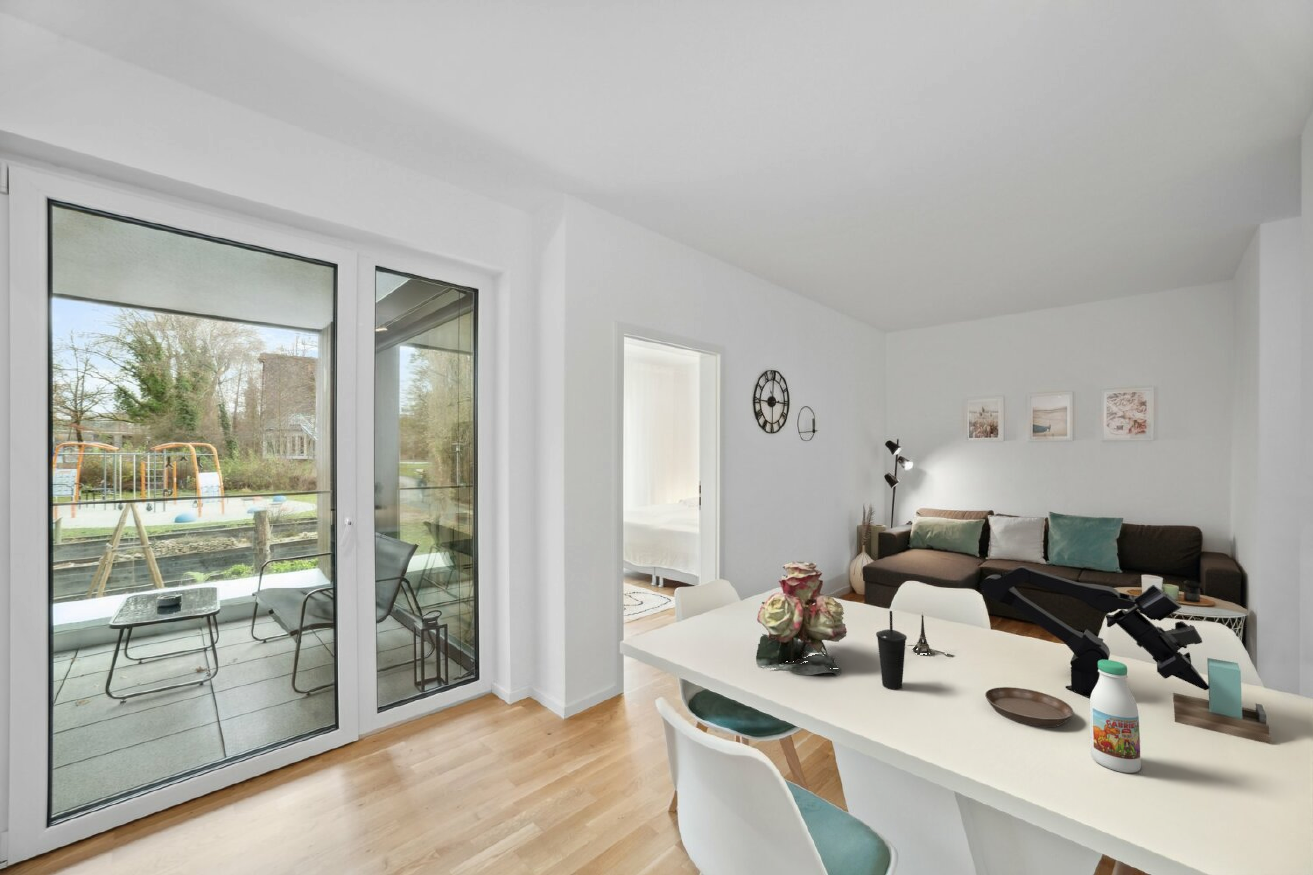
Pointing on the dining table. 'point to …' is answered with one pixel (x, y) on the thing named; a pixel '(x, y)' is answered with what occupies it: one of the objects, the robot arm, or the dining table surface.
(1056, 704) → the plant saucer
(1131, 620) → the robot arm
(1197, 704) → the chute
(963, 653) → the dining table surface
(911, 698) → the dining table surface
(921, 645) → the eiffel tower figurine
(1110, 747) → the milk bottle
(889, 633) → the drinking cup
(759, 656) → the rose bouquet
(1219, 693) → the block
